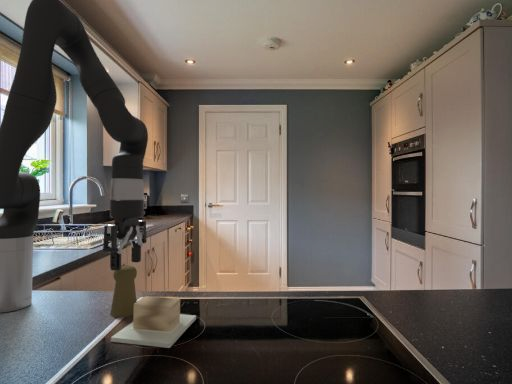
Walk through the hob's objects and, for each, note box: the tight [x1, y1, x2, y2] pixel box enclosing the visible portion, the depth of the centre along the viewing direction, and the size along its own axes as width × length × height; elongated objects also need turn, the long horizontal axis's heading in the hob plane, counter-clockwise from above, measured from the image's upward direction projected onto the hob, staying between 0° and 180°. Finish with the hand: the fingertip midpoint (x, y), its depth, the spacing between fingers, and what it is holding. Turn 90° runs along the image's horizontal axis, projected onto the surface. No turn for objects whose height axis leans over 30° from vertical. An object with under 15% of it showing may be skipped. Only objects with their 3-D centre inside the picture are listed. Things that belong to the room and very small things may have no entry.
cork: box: [109, 265, 138, 318], centre depth 75 cm, size 6×6×11 cm
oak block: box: [132, 296, 181, 332], centre depth 66 cm, size 8×5×5 cm, turn 82°
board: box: [110, 313, 197, 349], centre depth 66 cm, size 12×14×1 cm
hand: (126, 265), depth 75 cm, fingers open, 8 cm apart
